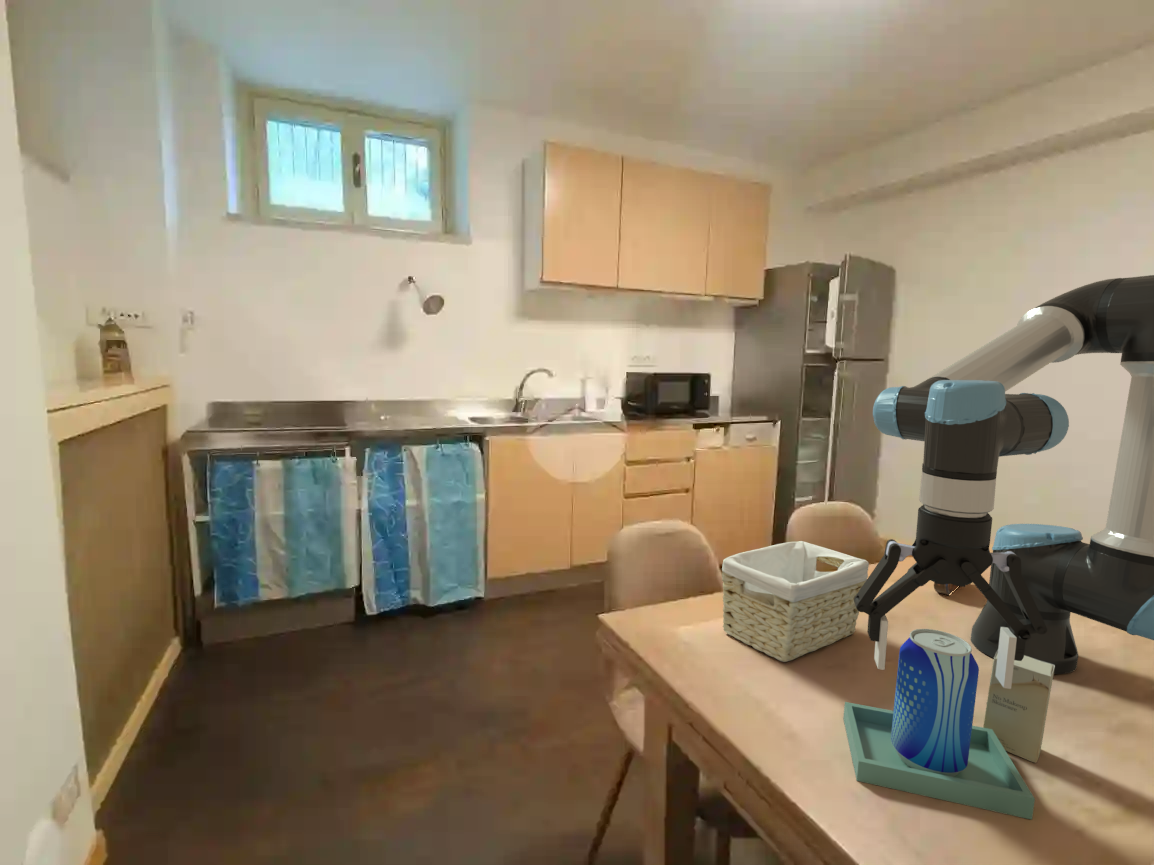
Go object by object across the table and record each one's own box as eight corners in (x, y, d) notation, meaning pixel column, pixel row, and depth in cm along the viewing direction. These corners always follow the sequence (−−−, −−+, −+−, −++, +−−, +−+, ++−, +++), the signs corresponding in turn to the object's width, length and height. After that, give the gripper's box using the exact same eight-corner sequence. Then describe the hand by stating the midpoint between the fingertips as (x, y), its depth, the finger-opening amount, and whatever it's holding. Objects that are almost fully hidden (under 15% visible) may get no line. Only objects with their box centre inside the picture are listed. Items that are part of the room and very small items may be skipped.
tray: (989, 747, 78) (992, 729, 77) (1031, 819, 65) (1034, 798, 65) (843, 718, 83) (844, 701, 83) (856, 780, 71) (858, 761, 70)
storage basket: (792, 604, 122) (797, 536, 120) (867, 636, 109) (874, 560, 107) (713, 632, 108) (717, 556, 107) (788, 672, 95) (794, 586, 93)
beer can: (979, 788, 69) (995, 662, 67) (902, 776, 71) (915, 653, 69) (949, 742, 77) (962, 629, 75) (881, 733, 79) (892, 622, 77)
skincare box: (980, 741, 79) (990, 657, 77) (986, 727, 82) (997, 646, 80) (1039, 765, 74) (1051, 676, 73) (1043, 749, 78) (1055, 663, 76)
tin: (944, 600, 126) (949, 562, 125) (928, 595, 129) (932, 558, 127) (965, 583, 136) (969, 548, 135) (950, 579, 139) (954, 545, 137)
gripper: (1064, 509, 70) (1044, 674, 73) (838, 493, 77) (828, 643, 80) (1098, 527, 63) (1074, 709, 65) (845, 508, 70) (834, 671, 73)
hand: (939, 673), depth 73 cm, fingers open, 13 cm apart
